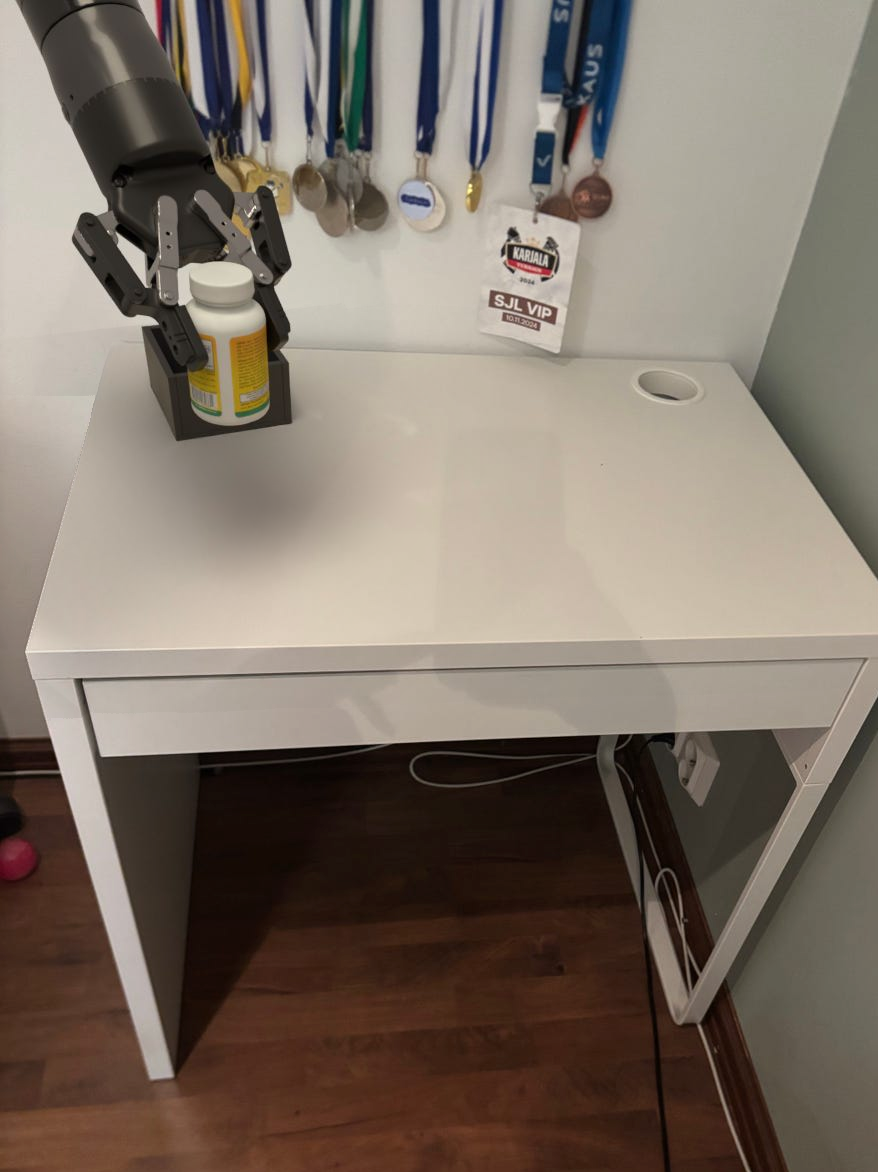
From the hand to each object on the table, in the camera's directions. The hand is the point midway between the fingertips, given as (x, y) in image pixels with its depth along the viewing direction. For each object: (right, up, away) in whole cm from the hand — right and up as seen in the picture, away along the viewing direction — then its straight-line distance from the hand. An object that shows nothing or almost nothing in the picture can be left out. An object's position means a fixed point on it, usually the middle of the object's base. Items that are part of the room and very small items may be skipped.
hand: (241, 355), depth 63 cm
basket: (-11, +5, +34) cm, 36 cm away
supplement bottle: (-2, -3, +4) cm, 5 cm away
